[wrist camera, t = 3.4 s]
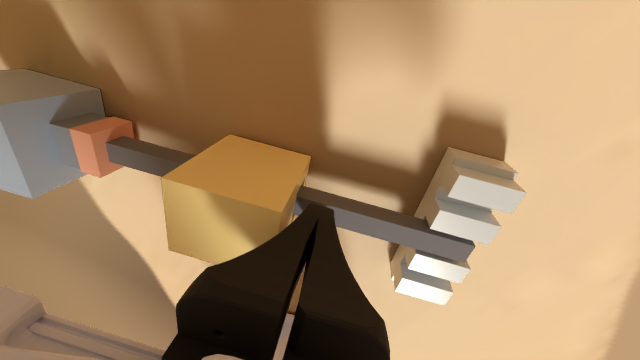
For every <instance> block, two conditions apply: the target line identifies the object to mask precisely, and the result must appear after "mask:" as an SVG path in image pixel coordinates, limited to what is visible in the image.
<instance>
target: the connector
mask: <svg viewBox="0 0 640 360" xmlns="http://www.w3.org/2000/svg"><path fill="white" fill-rule="evenodd" d="M105 118H109V117H106V116H105V111H104V106H103V102H102V97H101V92H100V89H98V88H95V87H91V86H87V85H83V84H80V83H76V82H72V81H69V80H65V79H61V78H58V77H54V76H50V75H47V74H43V73H39V72H35V71H32V70H28V69H14V70H0V189H2V190H5V191H8V192H11V193H15V194H18V195H22V196H25V197H28V198H32V199H34V198H36V197H38V196H40V195H43V194H45V193H47V192H49V191H51V190H53V189H56V188H58V187H60V186H62V185H64V184H67V183H69V182H71V181H73V180H76V179H78V178H80V177H82V176H84V175H87V174H86V173H83V172H81V169H80V166H79V162H78V159H77V155H76V152H75V148H74V144H73V141H72V137H71V134H70V130H69V128H73V127H76V126H80V125H84V124H87V123H91V122H95V121H98V120H102V119H105Z"/></svg>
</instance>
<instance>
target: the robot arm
mask: <svg viewBox="0 0 640 360" xmlns="http://www.w3.org/2000/svg"><path fill="white" fill-rule="evenodd" d="M305 263H306V267H305V272H304V277H303V283H302V288H301V293H300V298H299V302H298V306H297V309H296V313H295V315H292V314H288V313H287V312H288V308H289V305H290V302H291V298H292V296H293V293H294V290H295V288H296V285H297V283H298V280H299V278H300V275H301V273H302V271H303V268H304V266H305ZM176 317H177V327H178V334H177V335H176V337H175V338H174V340H173V341H172V343H171V344H170V346H169V347H168V349H167V350H166V351H164V350H161V349H158V348H155V347H152V346H149V345H146V344H142V343H139V342H136V341H133V340H130V339H127V338H124V337H120V336H117V335H114V334H111V333H108V332H105V331H102V330H99V329H96V328H93V327H90V326H87V325H84V324H80V323H77V322H74V321H71V320H68V319H65V318H62V317H59V316H56V315H53V314H49V313H46V310H45V306H44V304H43V303H42V301H41V300H39V299H38V298H37V297H35V296H33V295H31V294H28V293H25V292H21V291H18V290H15V289H12V288H9V287H6V286H4V287H0V360H390V348H389V341H388V336H387V331H386V327H385V322H384V320H383V319H382V318H381V316H380V315H379V314H378V313H377V311H376V310H375V309H374V308H373V306H372V305H371V304H370V302H369V301H368V299H367V298H366V296H365V295H364V293H363V292H362V290H361V288H360V287H359V285H358V283H357V281H356V280H355V278H354V276H353V274H352V272H351V270H350V268H349V266H348V264H347V261H346V259H345V256H344V254H343V251H342V248H341V245H340V242H339V238H338V234H337V230H336V225H335V218H334V210H333V209H330V208H327V207H323V206H320V205H316V204H313V203H310V204H308V206H307V207H306V208H305V210H304V211H303V212H302V213H301V214H300V215H299V216H298V217H297V218H296V219H295V220H294V221H293V222H292V223H291V224H290V225H288V226H287V227H286V228H285V229H283V230H282V231H281V232H280V233H278V234H277V235H276V236H274V237H273V238H271V239H270V240H268V241H267V242H265V243H263V244H262V245H260V246H258V247H256V248H255V249H253V250H251V251H249V252H247V253H245V254H242V255H240V256H238V257H236V258H233V259H231V260H229V261H226V262H223V263H220V264H217V265H214V266H211V267H208V268H206V269H205V270H204V271H203V272H202V273H201V274H200V275H199V276H198V277H197V278H196V279H195V281H194V282H193V283H192V284H191V285H190V286H189V288H188V289H187V290H186V292H185V293H184V295H183V296H182V297H181V299H180V300H179V302H178V303H177V305H176Z"/></svg>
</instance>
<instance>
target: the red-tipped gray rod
mask: <svg viewBox="0 0 640 360" xmlns="http://www.w3.org/2000/svg"><path fill="white" fill-rule="evenodd" d="M69 130H70V134H71V137H72V141H73V144H74V148H75V152H76V155H77V159H78V162H79V166H80V169H81V172H83V173H86V174H90V175H93V176H97V177H100V178H101V177H103V176H106V175H108V174H110V173H112V172H114V171H116V170H118V169H120V168H122V167H124V166H126V167H129V168H133V169H136V170H140V171H143V172H147V173H151V174H154V175H158V176H161V177H163V176H165V175H166V174H168V173H169V172H171V171H173V170H174V169H176V168H177V167H179V166H180V165H182V164H184V163H185V162H187V161H188V160H190V159H192V158H193V157H195V156H194V155H191V154H187V153H183V152H180V151H176V150H173V149H169V148H166V147H162V146H158V145H155V144H151V143H148V142H144V141H140V140H137V139H134V133H133V127H132V121H128V120H125V119H121V118H117V117H114V116H113V117H109V118H105V119H102V120H98V121H95V122H91V123H87V124H84V125H80V126H76V127H73V128H69ZM310 203H313V204H316V205H320V206H323V207H327V208H330V209H333V210H334V218H335V225H336V227H340V228H343V229H347V230H351V231H354V232H358V233H361V234H365V235H368V236H372V237H375V238H379V239H382V240H386V241H389V242H393V243H396V244H400V245H403V246H407V247H410V248H414V249H417V250H421V251H424V252H428V253H431V254H435V255H438V256H442V257H445V258H449V259H452V260H456V261H459V262H463V263H464V262H465V261H466V259H467V258H468V257H469V255H470V254H471V252H472V251H473V249H474V248H475V245H474V243H473V241H472V240H468V239H465V238H461V237H458V236H454V235H450V234H447V233H443V232H440V231H436V230H433V229H430V228H429V225H428V222H427V220H424V219H420V218H417V217H413V216H409V215H406V214H402V213H399V212H395V211H391V210H388V209H384V208H381V207H377V206H374V205H370V204H366V203H363V202H359V201H356V200H352V199H348V198H345V197H341V196H338V195H334V194H331V193H327V192H323V191H320V190H316V189H313V188H309V187H305V186H302V185H301V187H300V189H299V191H298V193H297V195H296V200H295V205H294V210H293V214H294V215H298V216H299V215H300V214H301V213H302V212H303V211H304V210H305V208H306V207H307V206H308V204H310Z"/></svg>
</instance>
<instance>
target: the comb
mask: <svg viewBox="0 0 640 360" xmlns="http://www.w3.org/2000/svg"><path fill="white" fill-rule="evenodd" d="M517 174H518V173H517V172H516V171H515V170H514V169H513V168H512V167H510V166H509V165H508V164H507V163H506V162H504V161H500V160H497V159H493V158H489V157H485V156H481V155H478V154H474V153H470V152H466V151H462V150H459V149H455V148H451V147H448V148H447V150H446V152H445V154H444V156H443V158H442V160H441V162H440V164H439V166H438V168H437V170H436V172H435V174H434V176H433V178H432V180H431V182H430V184H429V186H428V188H427V190H426V192H425V194H424V196H423V198H422V200H421V202H420V204H419V206H418V209H417V211H416V213H415V215H414V217H417V218H420V219H424V220H427V222H428V225H429V228H430V229H433V230H436V231H440V232H443V233H447V234H450V235H454V236H458V237H461V238H465V239H468V240H472V241H475V242H479V243H482V244H486V245H489V244H490V242H491V241H492V239H493V238H494V237H495V235H496V234H497V233H498V231H499V230H500V228H501V226H500V224H499V223H498V222H497V220H496V219H495V217H494V216H493V215H492V213H491V212H492V211H493V210H498V211H502V212H505V213H509V214H511V213H512V212H513V211H514V209H515V208H516V207H517V205H518V204H519V203H520V201H521V200H522V198H523V197H524V196H525V194H526V192H525V191H524V190H523V189H522V188H521V187H520V186H519V185H518V184H517V183H516V182H515V181H513V180H514V179H515V177H516V176H517ZM390 269H391V280H394V285H395V291H396V292H400V293H403V294H407V295H410V296H413V297H417V298H420V299H424V300H427V301H430V302H434V303H437V304H441V305H445V304H446V302H447V301H448V299H449V298H450V297H451V295H452V294H453V290H452V287H451V284H450V281H452V282H455V283H459V284H460V283H461V282H462V280H463V279H464V278H465V276H466V275H467V274H468V272H469V271H470V267H469V265H468V262H467V260H466V261H465V262H464V263H463V262H459V261H456V260H452V259H449V258H445V257H442V256H438V255H435V254H431V253H428V252H424V251H421V250H417V249H414V248H410V247H407V246H403V245H399V247H398V249H397V251H396V253H395V255H394V257H393V259H392V261H391V263H390Z"/></svg>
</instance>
